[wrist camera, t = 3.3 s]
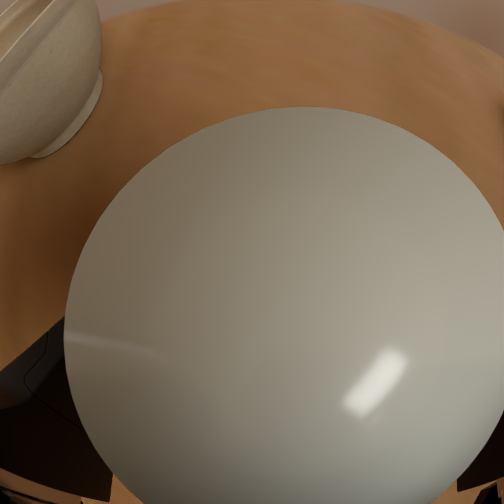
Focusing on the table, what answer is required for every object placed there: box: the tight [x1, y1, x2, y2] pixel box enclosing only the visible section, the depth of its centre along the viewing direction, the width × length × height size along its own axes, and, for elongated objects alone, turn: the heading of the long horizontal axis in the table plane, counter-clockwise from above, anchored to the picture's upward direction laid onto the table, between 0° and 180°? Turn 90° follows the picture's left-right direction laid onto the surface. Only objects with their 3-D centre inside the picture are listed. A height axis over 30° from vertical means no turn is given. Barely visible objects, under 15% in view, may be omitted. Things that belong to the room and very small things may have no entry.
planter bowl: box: [0, 0, 103, 165], centre depth 12 cm, size 16×16×11 cm
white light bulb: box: [64, 107, 504, 504], centre depth 8 cm, size 6×6×12 cm
